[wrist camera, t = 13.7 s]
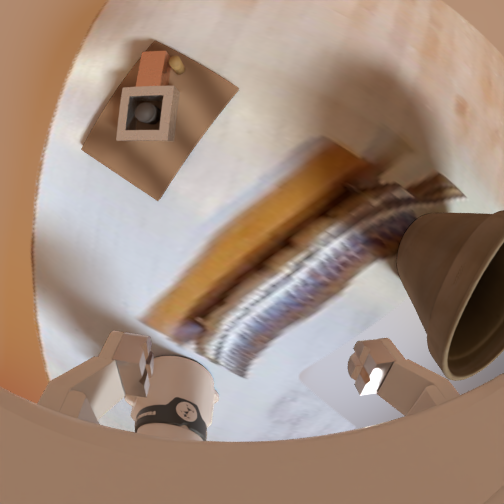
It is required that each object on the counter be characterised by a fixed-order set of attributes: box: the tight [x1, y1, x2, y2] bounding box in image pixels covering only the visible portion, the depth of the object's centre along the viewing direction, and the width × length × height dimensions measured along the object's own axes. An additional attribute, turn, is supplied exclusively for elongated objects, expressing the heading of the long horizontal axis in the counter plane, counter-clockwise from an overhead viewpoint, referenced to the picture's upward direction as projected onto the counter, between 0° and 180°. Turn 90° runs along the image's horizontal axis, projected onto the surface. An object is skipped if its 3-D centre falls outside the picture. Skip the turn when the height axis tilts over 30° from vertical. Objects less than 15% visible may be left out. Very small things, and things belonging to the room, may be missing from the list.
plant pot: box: [397, 210, 504, 381], centre depth 32 cm, size 25×25×22 cm
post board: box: [81, 41, 239, 201], centre depth 28 cm, size 18×14×6 cm
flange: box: [116, 51, 180, 141], centre depth 27 cm, size 11×6×4 cm, turn 173°
